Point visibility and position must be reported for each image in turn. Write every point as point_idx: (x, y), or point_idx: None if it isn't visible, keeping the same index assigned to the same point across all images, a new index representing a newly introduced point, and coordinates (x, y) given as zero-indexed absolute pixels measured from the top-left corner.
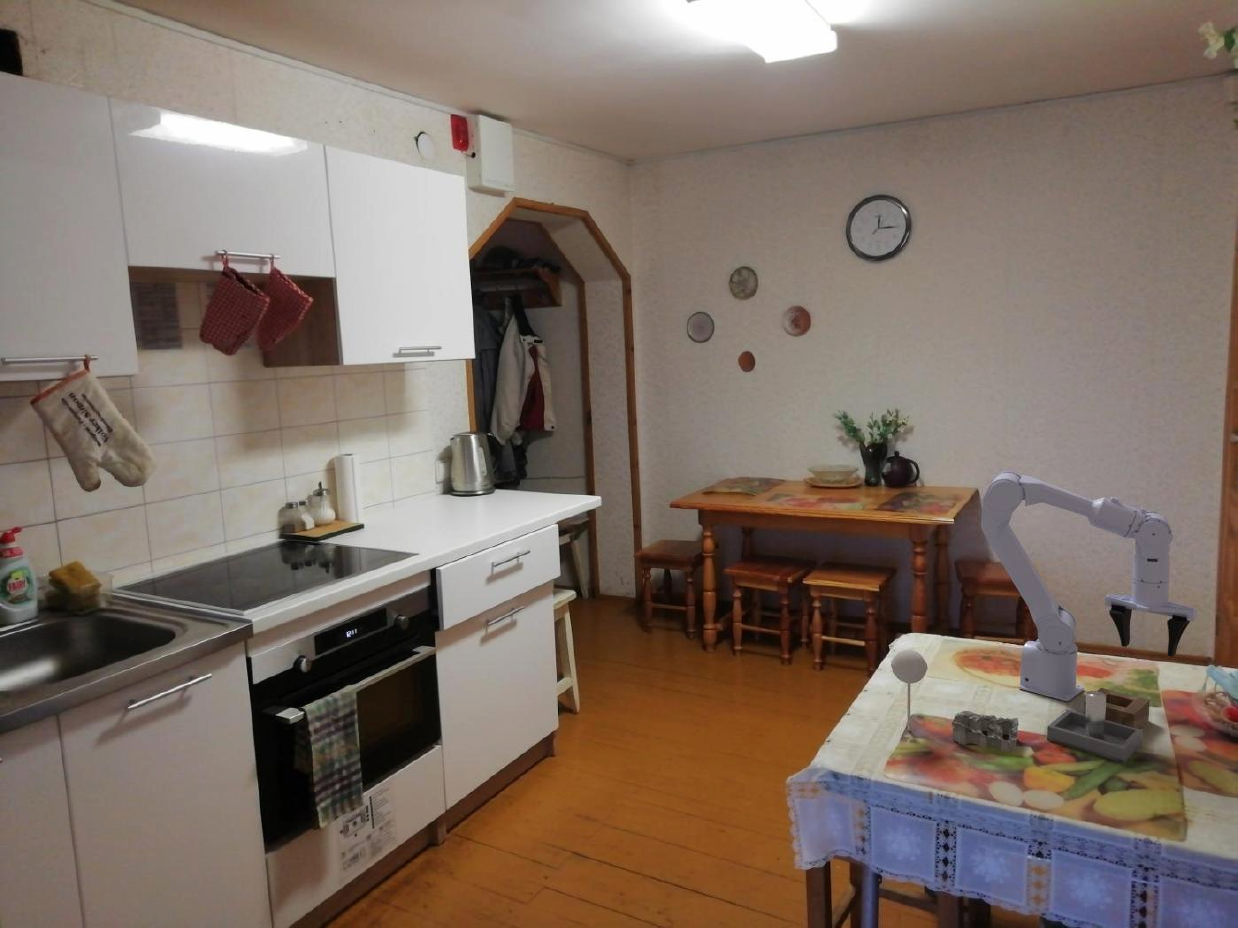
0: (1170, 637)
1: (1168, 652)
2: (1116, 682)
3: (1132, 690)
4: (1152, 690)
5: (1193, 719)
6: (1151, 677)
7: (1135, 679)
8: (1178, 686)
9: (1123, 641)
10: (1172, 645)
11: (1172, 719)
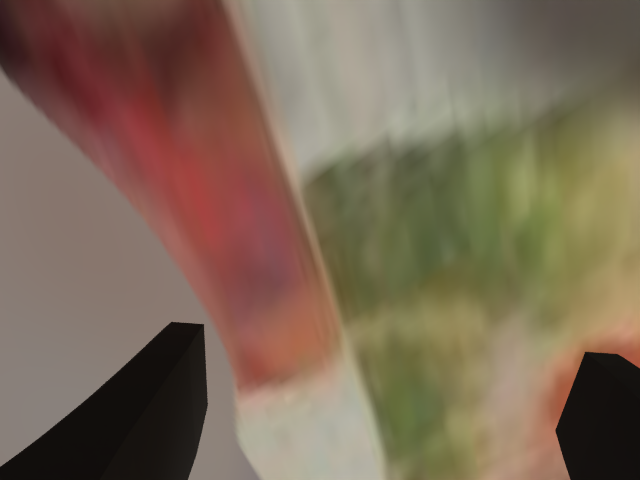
0: (72, 471)
1: (186, 339)
2: (517, 337)
3: (444, 292)
4: (372, 334)
5: (146, 122)
6: (401, 444)
7: (451, 401)
8: (300, 416)
9: (636, 381)
10: (107, 390)
11: (216, 57)
